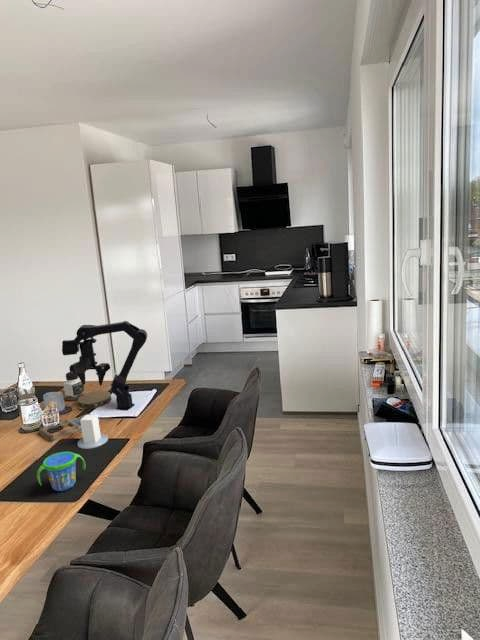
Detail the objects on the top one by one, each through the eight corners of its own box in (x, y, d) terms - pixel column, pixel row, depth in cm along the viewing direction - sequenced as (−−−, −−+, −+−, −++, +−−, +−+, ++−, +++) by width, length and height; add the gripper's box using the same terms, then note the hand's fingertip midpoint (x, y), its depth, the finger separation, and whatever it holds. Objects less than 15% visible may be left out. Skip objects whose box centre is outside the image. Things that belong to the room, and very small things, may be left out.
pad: (114, 436, 200) (113, 434, 200) (96, 450, 190) (96, 448, 189) (89, 433, 205) (89, 432, 204) (71, 447, 194) (71, 446, 193)
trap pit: (89, 416, 223) (89, 413, 223) (100, 422, 216) (99, 418, 215) (68, 424, 216) (68, 421, 216) (79, 430, 209) (78, 427, 209)
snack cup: (84, 472, 174) (79, 445, 171) (91, 485, 165) (86, 457, 162) (37, 486, 166) (32, 459, 164) (42, 501, 157) (36, 472, 155)
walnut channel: (67, 424, 216) (66, 419, 216) (78, 431, 208) (77, 425, 208) (39, 434, 208) (38, 429, 208) (50, 441, 200) (49, 436, 200)
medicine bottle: (74, 397, 249) (70, 375, 246) (65, 395, 253) (61, 374, 250) (85, 392, 255) (81, 371, 252) (76, 391, 259) (72, 369, 256)
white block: (89, 437, 200) (85, 414, 198) (101, 437, 199) (97, 414, 197) (84, 443, 195) (80, 420, 193) (95, 443, 194) (91, 420, 192)
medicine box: (65, 408, 236) (62, 391, 234) (61, 411, 232) (58, 394, 230) (50, 408, 237) (47, 392, 235) (45, 412, 233) (42, 395, 231)
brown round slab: (116, 395, 247) (115, 390, 247) (104, 408, 232) (103, 402, 231) (86, 397, 249) (85, 391, 249) (72, 409, 234) (71, 403, 233)
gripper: (58, 357, 218) (64, 390, 222) (93, 358, 212) (99, 392, 215) (74, 350, 228) (79, 381, 232) (108, 351, 222) (113, 383, 226)
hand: (92, 385), depth 226 cm, fingers open, 9 cm apart
